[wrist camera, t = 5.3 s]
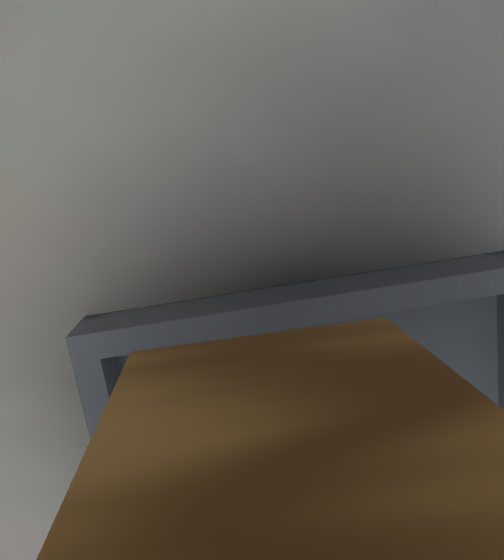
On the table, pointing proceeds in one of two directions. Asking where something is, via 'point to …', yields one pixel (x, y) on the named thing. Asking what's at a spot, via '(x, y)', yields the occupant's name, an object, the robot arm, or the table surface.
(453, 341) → the tray
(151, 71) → the table surface
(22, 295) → the table surface
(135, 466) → the block
